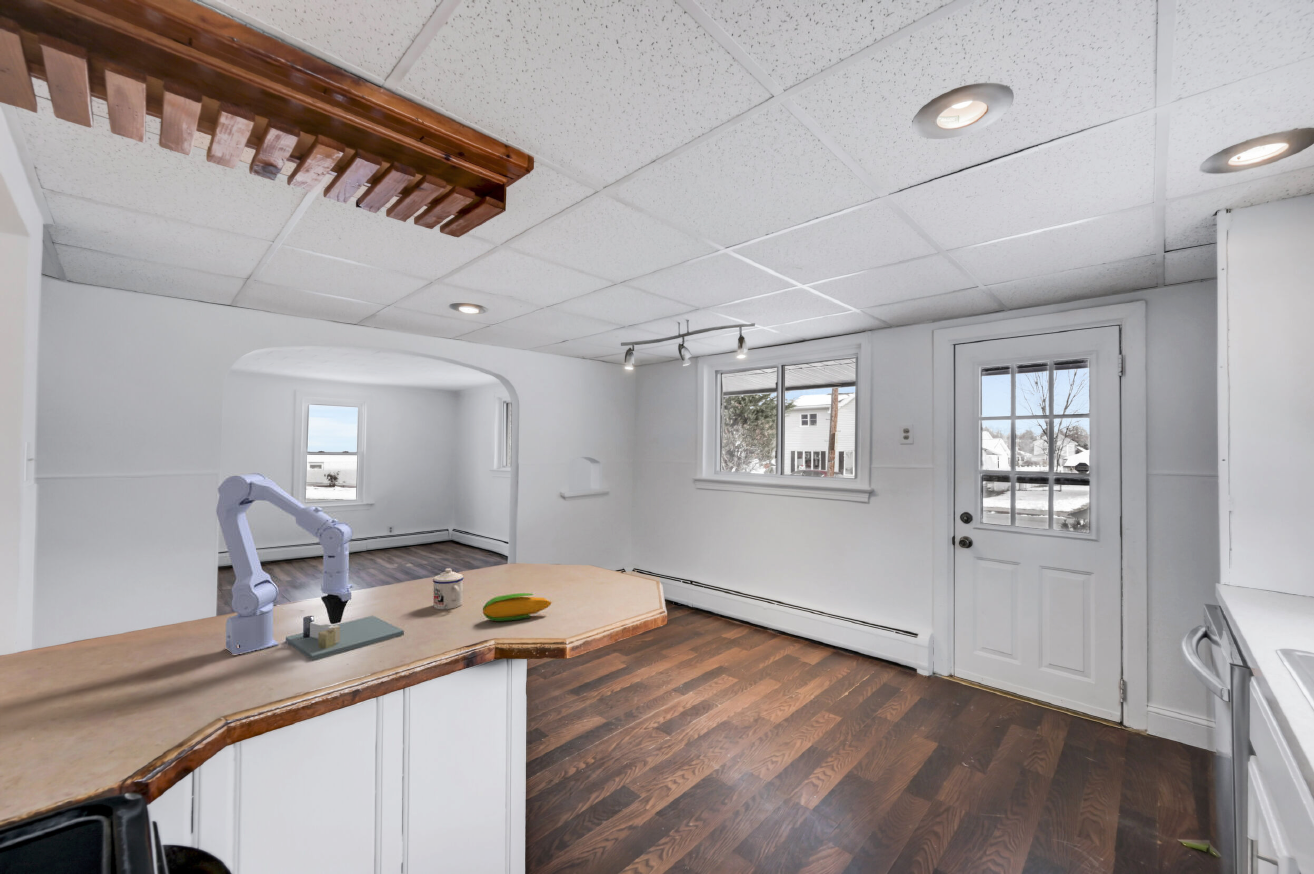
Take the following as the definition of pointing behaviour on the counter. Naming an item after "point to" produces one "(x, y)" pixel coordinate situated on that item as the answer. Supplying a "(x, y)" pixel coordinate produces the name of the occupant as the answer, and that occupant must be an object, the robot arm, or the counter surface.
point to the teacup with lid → (448, 590)
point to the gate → (320, 627)
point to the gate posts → (324, 638)
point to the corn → (514, 607)
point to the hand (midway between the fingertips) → (335, 622)
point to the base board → (347, 637)
